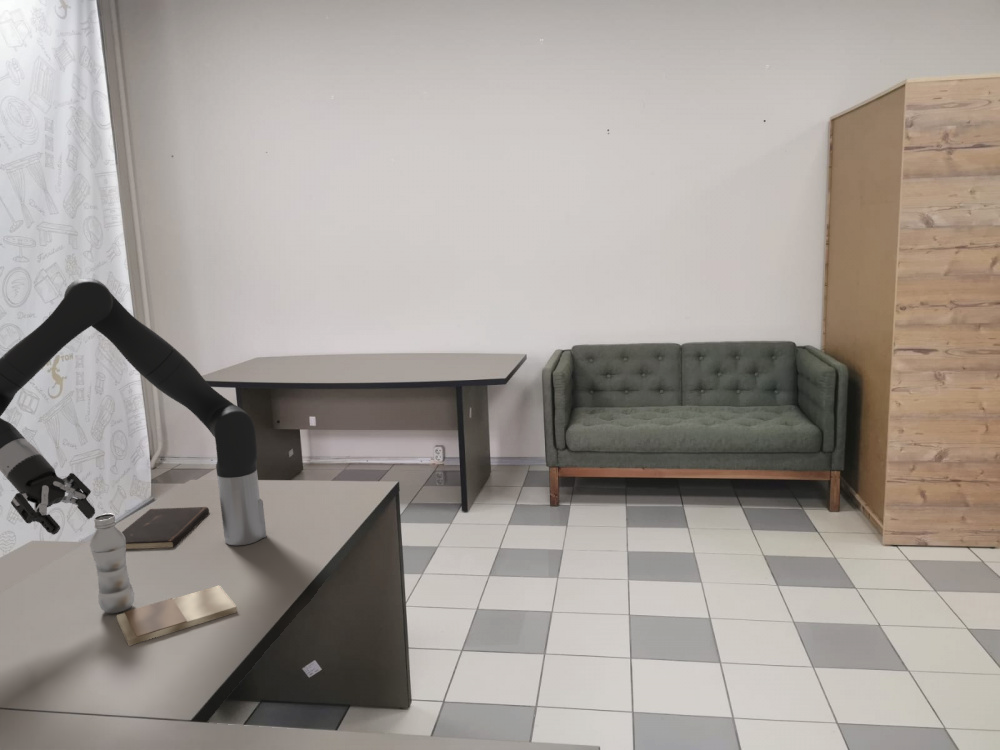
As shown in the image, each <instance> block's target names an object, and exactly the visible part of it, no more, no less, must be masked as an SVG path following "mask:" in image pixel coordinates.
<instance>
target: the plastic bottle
mask: <svg viewBox="0 0 1000 750" xmlns="http://www.w3.org/2000/svg"><path fill="white" fill-rule="evenodd" d="M93 521H94V528H95V529H96V530H95V532H94V533H93V535H92V536H91V539H90V540H89V549H90V552H91V555H92V557H93V561H94V563H95V568H96V573H97V577H98V578H97V579H98V580H97V581H98V594H97V595H98V605H99V608H100V609H101V610H102V611H103V612H104V613H105V614H116V613H117V614H118V613H122V612H126V611H128V610H129V609H130V608H131V607H132V606H133V604H134V602H135V591H134V589H133V588H134V587H133V586H132V584H131V579H130V577H129V572H128V566H127V554H126V553H127V549H126V538H125V536H124V534H123V533H122V532H123V531H121V530H120V529H119V528H118V527H117V526H116V525H117V521H116V516H115V514H114V513H104V514H100V515H97V516H95V517H94V519H93Z"/></svg>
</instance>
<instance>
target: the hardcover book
mask: <svg viewBox="0 0 1000 750" xmlns="http://www.w3.org/2000/svg"><path fill="white" fill-rule="evenodd" d="M209 514H210V509H209V507H207V506H196V507H195V506H194V507H169V508H168V507H167V508H166V507H165V508H163V507H162V508H150V509H149V510H147V511H145V513H143V514H142V515H141V516H140V517H139V518H137V519H136V520H135V521H134V522H132V523H131V524H130V525H129V526H128V527H126V528H125V529H123V531H121V532H122V533H123V534H124V536H125V538H126V550H130V549H131V550H134V549H136V550H137V549H160V548H161V549H162V548H175V547H176V546H177V545H178V544H179V543H181V541H182V540H183V539H184V538H186V536H188V534H190V533H191V532H192V530H193V529H194V528H195V527H197V525H198V524H200V522H201V521H202V520H204V519H205V517H207V516H208V515H209ZM206 515H207V516H206Z"/></svg>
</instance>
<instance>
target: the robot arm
mask: <svg viewBox="0 0 1000 750" xmlns="http://www.w3.org/2000/svg"><path fill="white" fill-rule="evenodd" d="M90 327H92V328H94V329H95V330H96V331H97V332H98V333H100V334H101V335H103V336H104V337H105V338H107V340H109V341H110V342H111V343H112V345H114V346H115V348H116V349H117V350H118V351H119V353H121V355H122V356H123V357H124V358H125V360H126V361H127V362H128V363H129V364H130V366H132V367H133V368H134V369H135V370H136V372H138V374H140V375H141V376H142V377H143V378H144V379H146V380H147V381H148V382H149V383H150V384H152V386H154V387H155V388H156V389H158V390H159V391H160V392H162V393H163V394H164V395H165V396H167V397H169V398H170V399H172V400H174V401H176V402H177V403H179V404H180V405H182V406H184V408H186V409H188V410H189V411H190V412H191V413H192V414H193V415H194V416H195V417H196V418H197V419H198V420H199V421H200V422H201V423H202V424H203V425H204V426H205V427H206V428H207V429H208V431H209V432H210V433H211V435H212V436H213V437H214V440H215V449H216V464H215V468H216V475H217V476H216V477H217V485H218V487H217V488H218V494H219V501H220V509H221V511H220V512H221V520H222V528H223V536H224V538H223V539H224V542H225V544H227V545H229V546H245V545H251V544H254V543H256V542H259V541H260V540H262V539H263V538H266V537H267V536H268V535H267V530H266V529H267V528H266V519H265V508H264V501H263V499H261V498H260V487H259V478H258V469H257V460H258V448H257V435H256V434H257V433H256V428H255V427H256V426H255V423H254V420H253V418H252V417H251V416H250V415H249V413H248V412H246V410H244V409H242V408H241V407H239V406H238V405H236V404H234V403H233V402H232V401H230V400H229V399H227V398H226V397H225V396H223V395H222V394H220V393H219V392H218V391H217V390H215V389H214V388H213V387H212V386H211V385H210V384H209V383H208V382H207V380H206V379H205V378H204V377H203V376H202V375H201V373H200V372H199V371H198V370H197V368H196V367H195V366H194V365H193V364H192V363H191V362H190V361H189V360H188V359H187V358H186V357H185V356H184V355H183V354H182V353H181V352H179V350H177V349H176V348H175V347H174V346H173V345H171V344H170V343H169V342H168V341H167V340H165V339H164V338H163V337H162V336H160V335H159V334H157V333H156V332H155V331H153V329H151V328H150V327H148V326H146V325H145V324H143V323H142V322H141V321H139V320H138V319H137V318H136V317H135V316H134V315H133V314H132V313H130V312H129V311H128V310H127V309H126V308H125V306H123V304H121V303H120V301H119V300H118V299H117V297H115V296H114V295H113V294H112V292H111V291H110V290H109V288H108V287H107V285H105V284H104V283H103V282H101V281H99V280H98V279H95V278H89V277H88V278H86V277H85V278H84V277H83V278H80V279H76V280H74V281H72V282H71V283H70V284H69V285H68V286H67V287H66V289H65V291H64V295H63V299H62V300H61V301H60V302H59V304H58V305H57V307H56V308H55V309H54V310H53V312H52V313H51V314H50V315H49V316H48V317H47V318H46V319H45V320H44V321H43V322H42V323H41V324H40V325H39V326H38V327H37V328H35V329H34V330H32V331H31V332H30V333H28V335H27V336H25V337H23V338H22V339H21V340H20V341H18V342H17V343H16V344H14V345H13V346H12V347H11V348H10V349H9V350H7V351H6V352H5V353H4V354H3V355H2V356H1V357H0V472H1V474H3V476H5V478H6V479H7V481H8V482H9V483H10V484H11V485H12V486H13V487H14V488H15V489H16V490H17V493H16V494H15V495H14V497H13V498H12V499H11V501H10V504H11V505H12V506H13V508H14V510H16V511H17V512H16V513H18V515H20V517H21V518H22V519H23V521H24V522H25V524H31V523H33V522H36V523H39V524H40V525H41V526H42V527H43V528H44V529H45V531H46V532H47V533H49V534H51V535H52V536H54V535H56V534H58V533H59V531H60V530H61V526H60V524H58V522H57V521H56V520H55V519H54V518H53V516H51V515H50V513H48V508H49V507H51V506H53V505H56V504H60V503H64V504H71V505H75V506H76V508H77V509H78V510H79V511H80V512H81V514H83V515H84V516H85V517H86V519H87V520H90V519H92V518H93V516H94V515H96V509H95V508H94V506H93V505H92V504H91V503H90V501H88V500H87V498H88V497H89V495H91V492H92V490H91V489H90V488H88V486H87V485H86V484H85V483H83V481H82V480H81V479H80V478H79V477H78V476H77V475H76V474H75V473H74V472H70V473H68V475H67V476H65V477H64V478H61V477H59V476H58V475H57V474H56V473H57V472H56V471H55V468H54V467H53V466H52V465H51V464H50V462H49V461H48V460H47V459H46V458H45V457H44V455H42V453H41V452H40V451H39V450H38V449H37V448H36V447H35V446H34V445H33V444H32V443H31V442H30V441H28V440H27V439H26V438H25V437H24V436H23V434H22V433H21V432H20V431H19V430H18V429H17V428H16V427H15V426H14V425H13V424H12V423H11V422H9V421H7V420H5V419H3V418H1V416H3V414H4V412H5V411H6V410H7V408H8V407H9V405H10V404H11V403H12V401H13V400H14V398H15V397H16V395H17V393H18V392H19V391H20V390H21V389H23V388H24V386H25V385H26V384H28V383H29V382H30V381H31V380H32V379H33V378H34V377H35V376H36V375H37V374H38V373H39V372H40V371H41V370H42V369H43V368H44V367H45V366H46V365H47V364H48V363H49V362H50V361H51V360H52V358H54V357H55V356H56V355H57V354H58V353H59V352H60V351H61V350H62V349H63V348H64V347H66V345H68V344H69V343H70V342H71V341H72V340H74V339H75V338H77V337H78V336H79V335H80V334H82V333H83V332H84V331H86V330H87V329H89V328H90ZM66 493H67V495H66ZM30 503H33V504H34V508H33V506H32V505H31V504H30ZM47 513H48V514H47Z"/></svg>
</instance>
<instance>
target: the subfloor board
mask: <svg viewBox="0 0 1000 750" xmlns="http://www.w3.org/2000/svg"><path fill="white" fill-rule="evenodd" d="M235 613H238V608H237V605H236V604H235V602H234V601H233V599H232V598H231V597H230V596H229V595H228V594H227V592H226V591H225V590H224V589H223V587H222V586H221V585H216V586H212V587H209V588H206V589H201V590H199V591H195V592H191V593H188V594H185V595H182V596H177V597H175V598H173V597H171V598H168V599H167V598H166V599H165V600H161V601H157V602H153V603H151V604H147V605H144V606H140V607H137V608H133V609H130V610H129V609H128V610H125V611H124V612H123V613H122V612H121V613H120V614H117V615H116V621H117V624H118V625H119V627H120V630H121V632H122V634H123V637H124V638H125V641H126V643H127V644H128V646H129V647H130V646H133V645H136V643H137V644H139V642H140V643H142V641H143V642H146V641H150V640H152V638H153V639H155V637H156V638H159V637H162V636H165V635H169V634H172V633H174V632H178V631H181V630H185V629H187V628H190V627H194V626H196V625H197V626H198V625H200V624H201V625H202V624H203V623H207V622H209V621H213V620H217V619H220V618H222V617H225V616H228V615H232V614H235ZM149 639H150V640H149ZM145 640H146V641H145Z"/></svg>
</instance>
